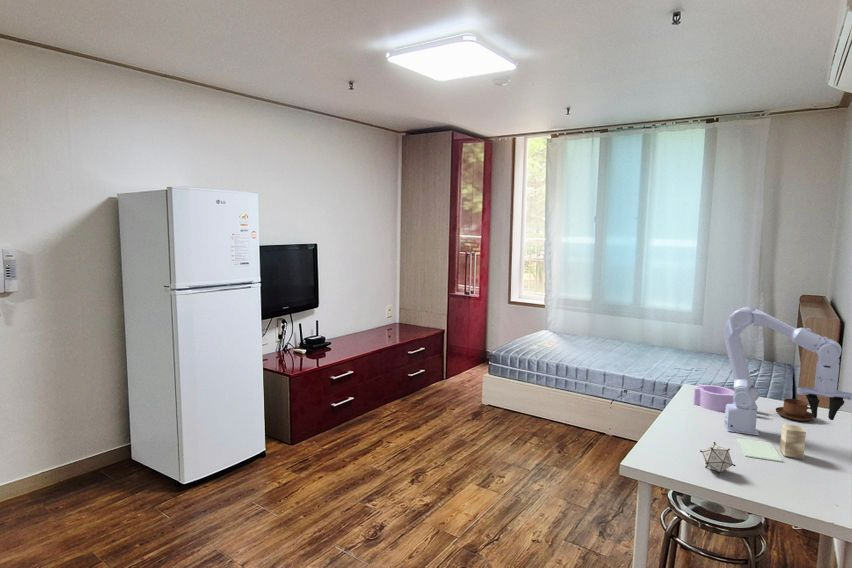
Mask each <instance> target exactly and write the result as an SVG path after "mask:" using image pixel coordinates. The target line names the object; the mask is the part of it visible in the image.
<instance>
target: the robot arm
mask: <svg viewBox="0 0 852 568" xmlns="http://www.w3.org/2000/svg"><path fill="white" fill-rule="evenodd" d="M750 325H752V326H753V327H760V326H762V327H763V326H765V327H766V328H769V329H772V330H774V331H776V332H778V333H781V334H782V335H785V336H787V337H790V340H791V342H792V343H793V344H795V345H797V346H799V347H801V348H803V349H805V350H808V351H810V352H812V353H816V355H817V362H816V367H815V376H814V377H815V378H814V385H813V386H814V387H797V388H796V393H797V394H798V396H799V395H800V396H803V395H804V396H805V398H806V399H807V401H808V402H807V403H808V404H809V407H810V408H811V409H810V411H811V412H810V413H812V417H813V419H817V418H818V408H819V403H820V399H819V397H825V398H828V399H829V408H828V416H827V417H828V419H829V420H830V421H834V420H835V418H836V415H837V413H838V412H839V411H840V409H841V408H842V406H844V404H845V400H849V401H852V392H848V391H842V390H841V391H840V390H838V382H839V373H840V357H841V354H842V347H841V345H840V343H839V342H837V341H836V340H834V339H830V338H829V337H827V336H822V335H820V334H817V333H815V332H814V331H812V329H811V328H810V327H807V328H804V327H799V328H796V327H794V326H792V325H790V324H788V323H786V322H784V321H782V320H780V319H778V318H776V317H774V316H772V315H770V314H768V313H767V312H765V311H762V310H761V309H755V308H754V307H753V306H747V305H746V306H741V307H740V308H739V309H736V310H735V311H733V312H732V313H731V314H730V315H729V316H728V318H727V321H726V324H725V326H724V328H723V331H722V335H723V337H724V342H725V343H724V344H725V346H726V351H727V352H726V353H727V356H728V360H729V365H730V368H731V372H732V376H733V391H734V395H733V400H734V403H733V404H726V408H725V412H724V422H723V424H724V426H725V428H726V430H727V432H730V433H738V434H745V435H755V436H760V433H759V432H758V430H757V429H756V428H757V427H756V426H757V418H758V417H757V415H758V405H757V403H756V401H758V399H759V398H760V392H759V390H758V389H757V388H756V387H755V384H754V381H753V380H752V378H751V375H750V371H749V366H748V362H747V359H746V355H745V350H744V346H743V341H742V337H741V334H742V333H743V332H744V330H746V328H747V327H750Z"/></svg>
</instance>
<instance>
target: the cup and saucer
mask: <svg viewBox="0 0 852 568" xmlns="http://www.w3.org/2000/svg"><path fill="white" fill-rule="evenodd" d="M808 404H809V403H808V402H806V401H803V400H800V399H795V398H784V399H783V406H779V407H776V408H775V412H776V413H777V414H778V415H780V416H781V417H783V418H786V419H790V420H792V421H800V422H807V421H812V420H813V419H814V418H813V417H812V412H810V411H808V410H811V408H810V406H809V405H808Z"/></svg>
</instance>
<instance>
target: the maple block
mask: <svg viewBox="0 0 852 568" xmlns="http://www.w3.org/2000/svg"><path fill="white" fill-rule="evenodd" d="M780 433H781V434H780V443H779V451H780V453H781V454H782V456H783V457H784V458H789V459H795V460H802V461H804V457H805V447H806V446H805V445H806V438H807V437H806V436H807V431H806V430H805V429H804V428H803V427H802V426H800V425H793V424H785V423H782V424H781V432H780Z"/></svg>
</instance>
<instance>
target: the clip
mask: <svg viewBox="0 0 852 568" xmlns="http://www.w3.org/2000/svg"><path fill="white" fill-rule="evenodd" d="M733 395H734V389H730V388H727V387H725V386H724V387H723V386H720V385H714V384H713V385H711V384H701V383H698V384H697V387H694V389H693V400H692V401H693V402H692V403H693V404H692V405H694V406H700V408H703V409H706V410H709V411H714V412H721V413H725V408H726V404H733V403H734V400H733Z"/></svg>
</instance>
